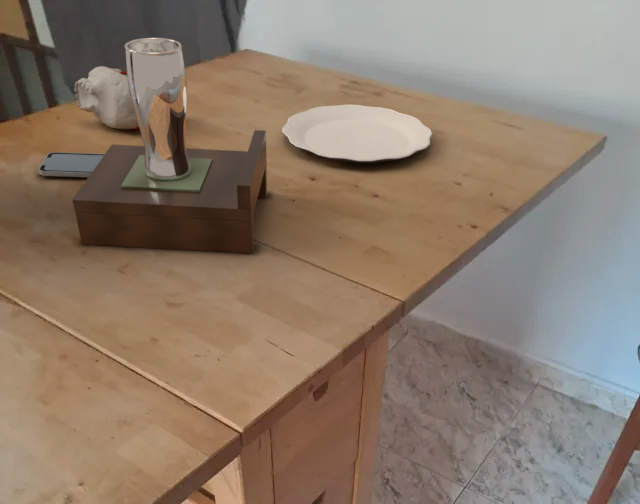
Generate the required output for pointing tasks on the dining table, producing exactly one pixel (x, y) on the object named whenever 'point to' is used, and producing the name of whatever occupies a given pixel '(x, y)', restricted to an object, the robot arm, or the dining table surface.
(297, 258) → the dining table surface
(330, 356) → the dining table surface
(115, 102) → the white irregular lump
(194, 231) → the shelf
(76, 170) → the smartphone
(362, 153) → the plate
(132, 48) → the beer glass
